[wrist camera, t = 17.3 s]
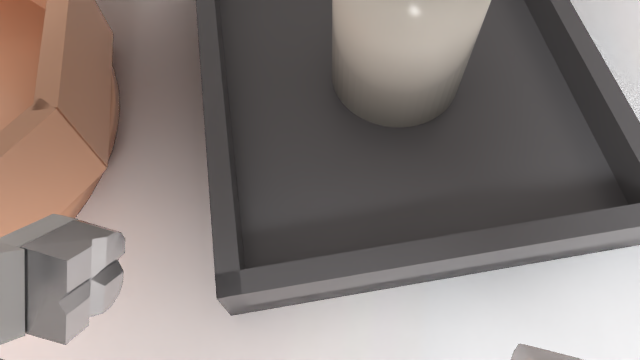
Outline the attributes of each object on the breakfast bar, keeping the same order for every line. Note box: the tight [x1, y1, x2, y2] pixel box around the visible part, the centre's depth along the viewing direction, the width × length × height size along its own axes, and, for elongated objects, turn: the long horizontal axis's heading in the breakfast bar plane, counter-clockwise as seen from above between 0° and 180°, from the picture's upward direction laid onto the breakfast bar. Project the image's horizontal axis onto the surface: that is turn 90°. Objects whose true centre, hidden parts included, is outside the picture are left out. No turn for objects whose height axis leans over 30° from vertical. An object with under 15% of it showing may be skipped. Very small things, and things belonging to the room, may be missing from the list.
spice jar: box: [332, 0, 491, 127], centre depth 18 cm, size 6×6×8 cm
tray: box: [196, 0, 640, 315], centre depth 21 cm, size 16×18×2 cm
